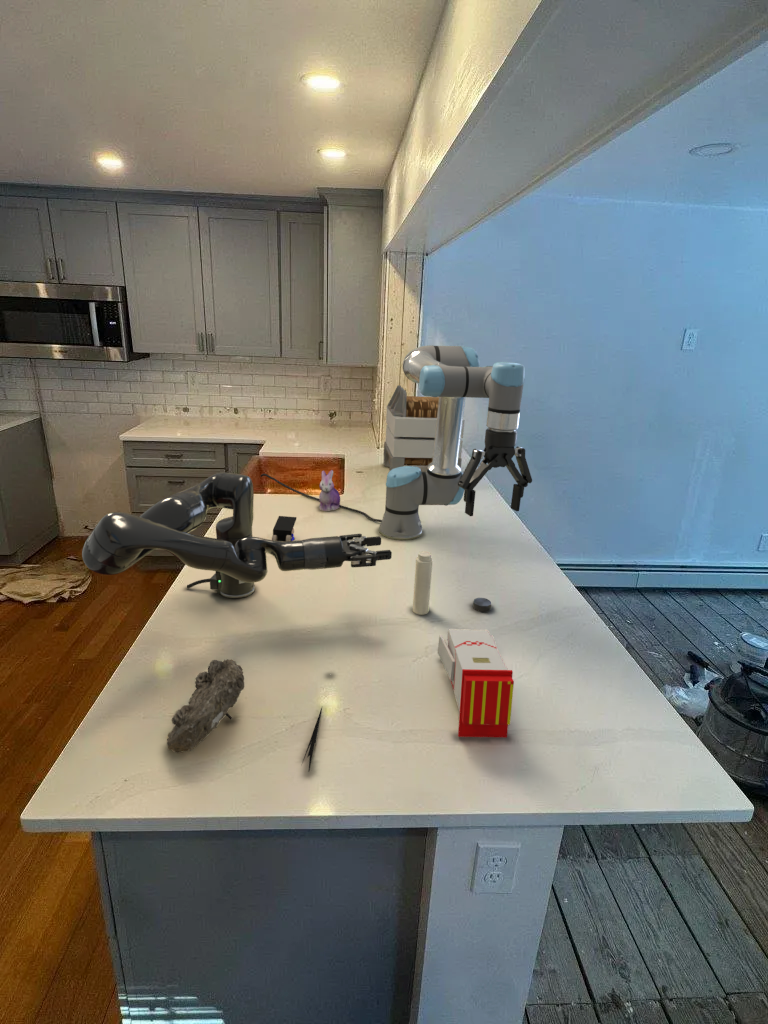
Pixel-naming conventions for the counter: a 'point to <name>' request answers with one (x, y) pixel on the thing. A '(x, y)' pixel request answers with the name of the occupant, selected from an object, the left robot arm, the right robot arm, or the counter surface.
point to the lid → (482, 604)
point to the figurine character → (284, 529)
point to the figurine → (328, 493)
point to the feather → (313, 740)
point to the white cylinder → (422, 583)
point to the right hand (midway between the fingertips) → (492, 512)
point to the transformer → (411, 430)
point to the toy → (478, 682)
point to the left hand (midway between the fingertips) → (385, 547)
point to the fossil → (206, 705)
